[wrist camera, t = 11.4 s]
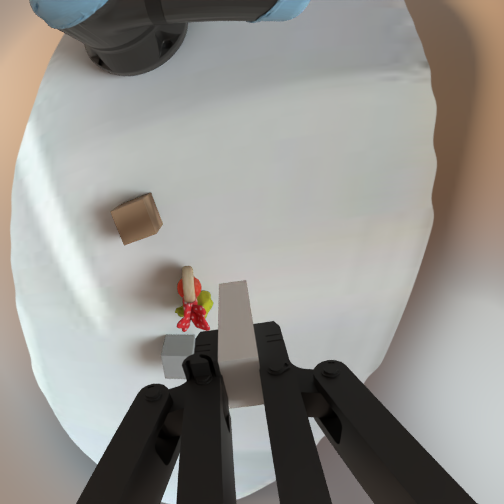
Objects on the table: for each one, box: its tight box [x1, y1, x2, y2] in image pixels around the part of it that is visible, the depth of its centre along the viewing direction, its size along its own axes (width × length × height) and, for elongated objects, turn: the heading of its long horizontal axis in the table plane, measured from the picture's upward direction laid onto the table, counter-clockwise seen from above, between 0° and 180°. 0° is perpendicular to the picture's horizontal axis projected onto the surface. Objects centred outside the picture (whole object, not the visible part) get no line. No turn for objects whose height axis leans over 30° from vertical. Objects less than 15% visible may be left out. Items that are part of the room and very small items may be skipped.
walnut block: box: [111, 193, 163, 245], centre depth 42 cm, size 5×5×5 cm
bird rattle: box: [175, 266, 213, 332], centre depth 45 cm, size 6×11×9 cm
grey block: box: [161, 335, 195, 379], centre depth 51 cm, size 5×5×6 cm
